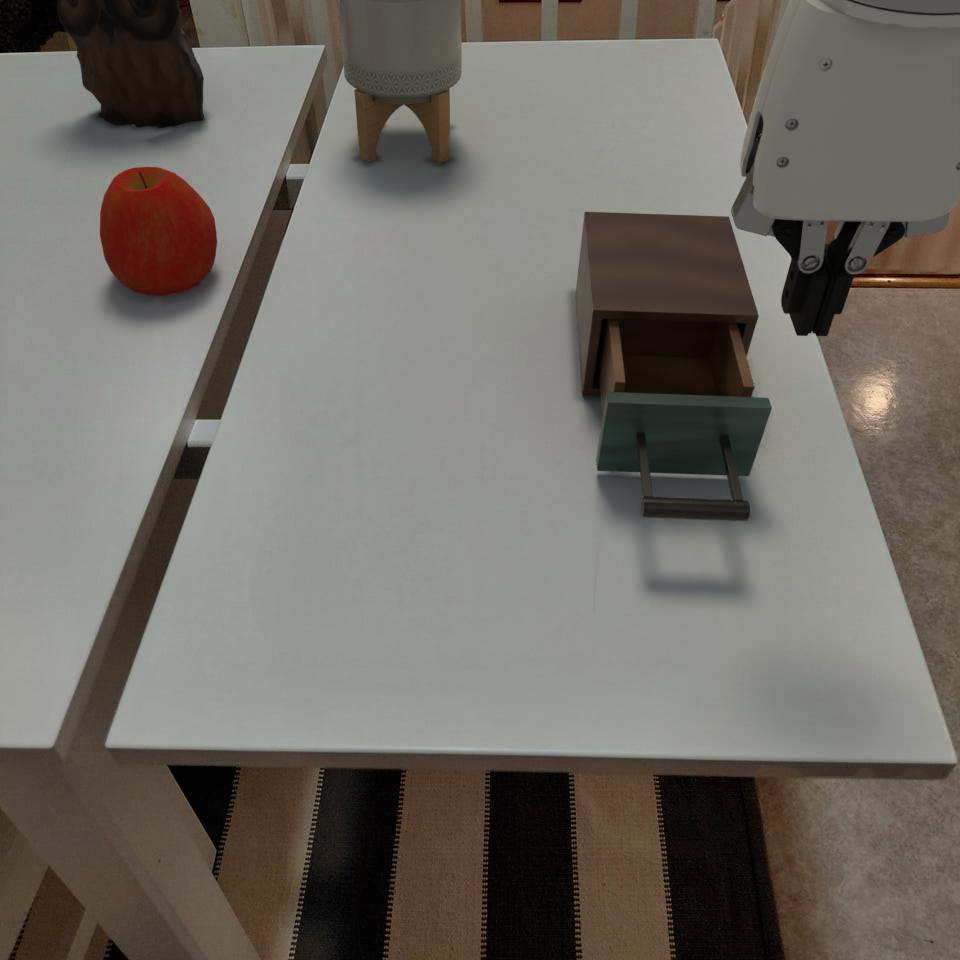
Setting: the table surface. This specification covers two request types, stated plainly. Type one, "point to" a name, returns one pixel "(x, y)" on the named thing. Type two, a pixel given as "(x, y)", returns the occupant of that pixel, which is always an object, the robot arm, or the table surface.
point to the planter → (402, 65)
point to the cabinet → (658, 277)
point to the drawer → (679, 410)
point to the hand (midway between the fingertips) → (806, 321)
